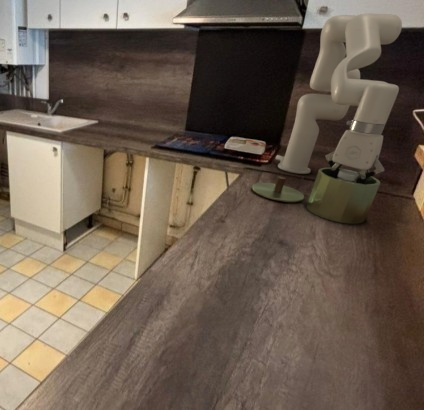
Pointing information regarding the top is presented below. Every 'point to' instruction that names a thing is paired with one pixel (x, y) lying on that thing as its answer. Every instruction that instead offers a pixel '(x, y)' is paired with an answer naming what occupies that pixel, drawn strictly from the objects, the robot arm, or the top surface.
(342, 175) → the pill bottle
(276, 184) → the tin lid
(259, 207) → the top surface
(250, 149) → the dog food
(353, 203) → the tin
